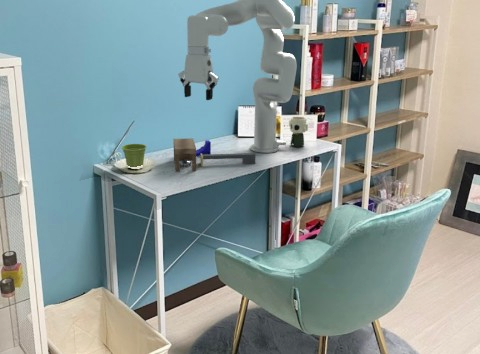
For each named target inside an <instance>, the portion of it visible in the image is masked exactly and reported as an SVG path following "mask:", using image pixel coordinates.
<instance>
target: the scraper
mask: <svg viewBox="0 0 480 354" xmlns="http://www.w3.org/2000/svg"><path fill="white" fill-rule="evenodd" d="M199 157H200V158H199V161H200V167H203V168H204V160H205V161H206V160H226V159H227V160H235V159H237V160H238V159H241V160H242V161H241V163H242V165H254V164H255V165H256V153H255V152H248V153H246V152H244V153H243V152H242V153H218V154H217V153H211V154H204V155H202V154H200V156H199Z"/></svg>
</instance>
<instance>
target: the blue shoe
mask: <svg viewBox="0 0 480 354" xmlns="http://www.w3.org/2000/svg"><path fill="white" fill-rule="evenodd" d="M204 141H205V142H204V145H203V146H200V147H199V148H198V149H196V157H200V154H202V155H204V154H212V153H211V149H212V145H211V143H212V142H211V141H210V140H207V139H206V140H204Z"/></svg>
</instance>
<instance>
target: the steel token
mask: <svg viewBox="0 0 480 354" xmlns="http://www.w3.org/2000/svg"><path fill="white" fill-rule="evenodd" d="M189 167H192V161H191V160H188V159H181V160H179V168H189Z"/></svg>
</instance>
